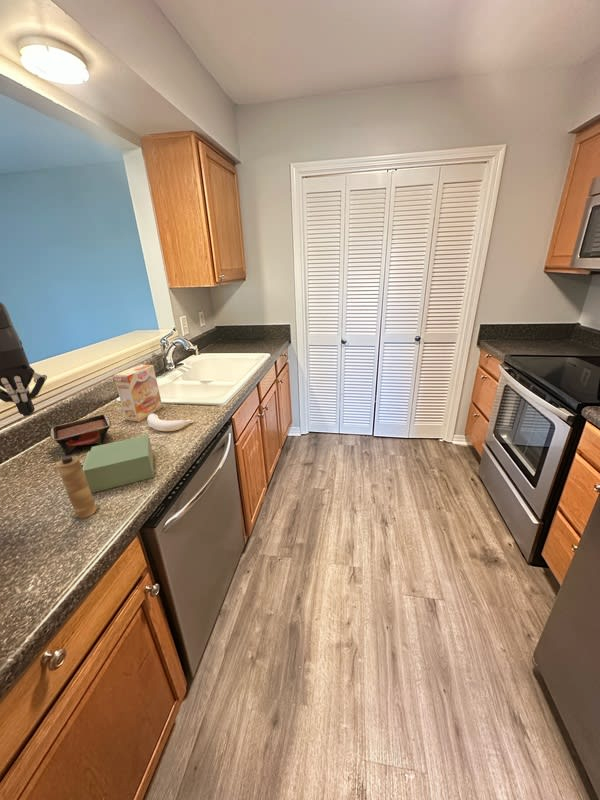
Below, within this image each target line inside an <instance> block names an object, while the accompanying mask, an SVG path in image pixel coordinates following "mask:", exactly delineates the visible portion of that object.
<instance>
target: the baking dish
mask: <svg viewBox="0 0 600 800" xmlns="http://www.w3.org/2000/svg"><path fill="white" fill-rule="evenodd" d="M111 425H112V422H111V420H110V417H109V416H107V414H104V413H102V414H97V415H93V416H90V417H86V418H82V419H77V420H74V421H70V422H66V423H63V424H58V425H54V426H52V427H51V428H50V430H49V437H50V439H51V440H52V441H55V442H56V443H57V444H58V445H59V446H60V448H61V449H62V451H63V452H64V454H65V456H69V454H70V453H71V451H72V450H74V449H75V447H77V446H89V445H92V444H93V445H95V444H99V445H103V444H105V440H106V435H107V433H108V431H109V429H110V427H111Z"/></svg>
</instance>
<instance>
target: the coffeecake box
mask: <svg viewBox="0 0 600 800" xmlns="http://www.w3.org/2000/svg"><path fill="white" fill-rule="evenodd" d="M154 366H155V365H154V364H138V365H136V366H133V367H131V368H128V369H126V370H123V371H121V372H117V373H115V374H113V378H114V382H115V386H116V389H117V393H118V396H119V401H120V404H121V409H122V412H123V415H124V419H125V421H132V422H141V421H143V420H144V419H145V418H146V419H147V417H148V416H149V415H150V414H155V412H157V411H159V410H160V409H162V408H163V403H162V399H161V394H160V389H159V385H158V380H157V375H156V371H155V367H154Z"/></svg>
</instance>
